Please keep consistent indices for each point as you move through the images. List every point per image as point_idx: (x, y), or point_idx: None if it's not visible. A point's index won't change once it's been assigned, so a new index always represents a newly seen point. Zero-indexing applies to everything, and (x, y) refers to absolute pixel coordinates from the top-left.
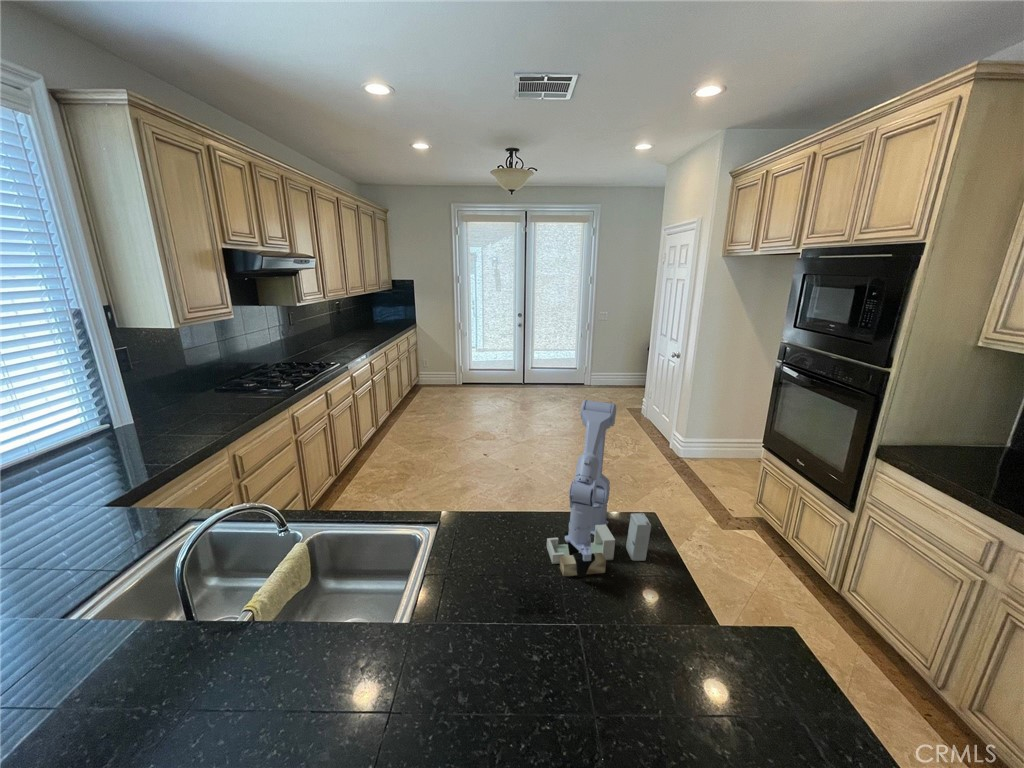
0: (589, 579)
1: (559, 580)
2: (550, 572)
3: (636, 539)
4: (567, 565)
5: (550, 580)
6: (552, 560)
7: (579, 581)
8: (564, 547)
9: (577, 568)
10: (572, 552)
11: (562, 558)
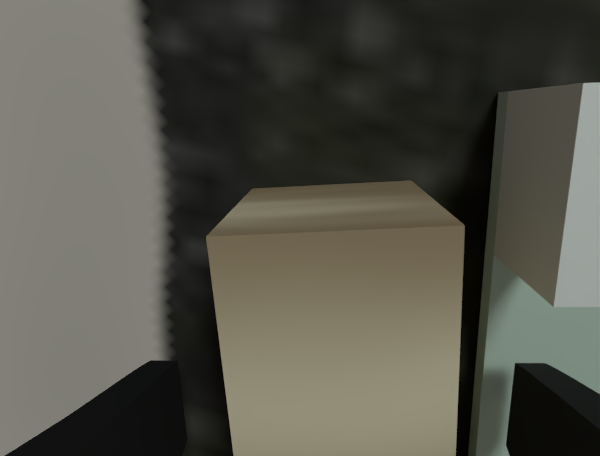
0: (202, 440)
1: (187, 126)
2: (336, 32)
3: None
4: (217, 291)
5: (187, 3)
6: (526, 90)
7: (173, 343)
8: None
9: (17, 448)
10: (558, 447)
11: (387, 248)
